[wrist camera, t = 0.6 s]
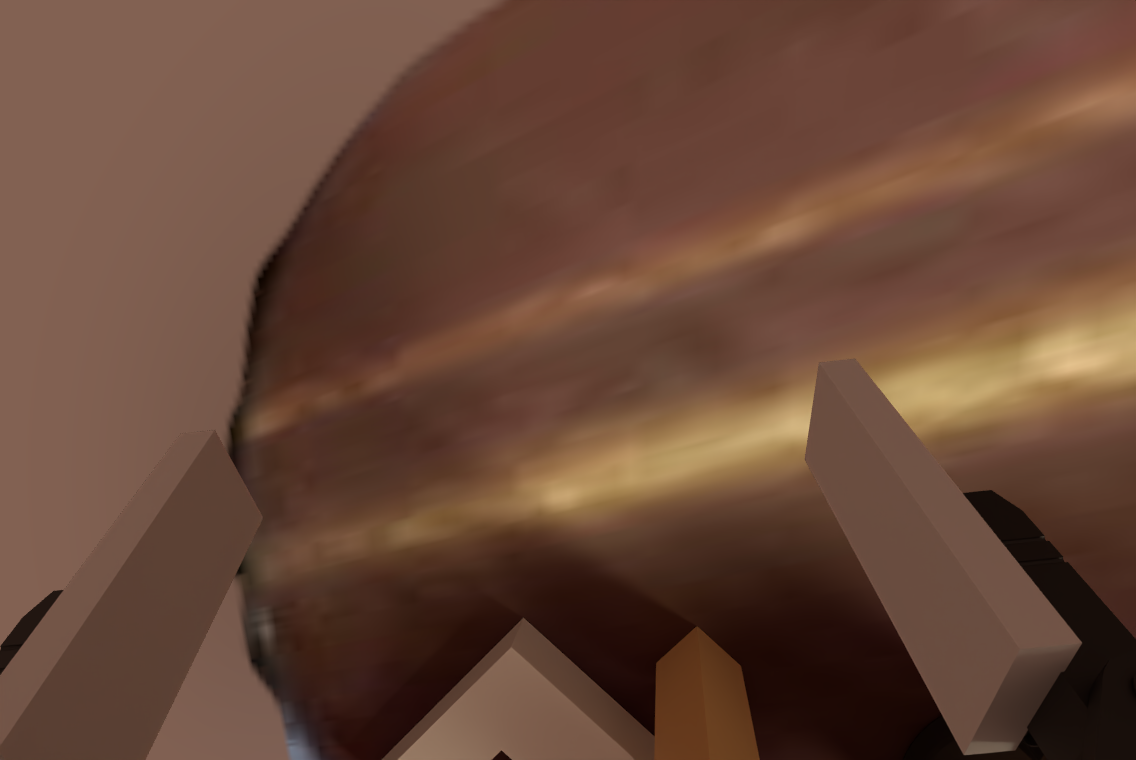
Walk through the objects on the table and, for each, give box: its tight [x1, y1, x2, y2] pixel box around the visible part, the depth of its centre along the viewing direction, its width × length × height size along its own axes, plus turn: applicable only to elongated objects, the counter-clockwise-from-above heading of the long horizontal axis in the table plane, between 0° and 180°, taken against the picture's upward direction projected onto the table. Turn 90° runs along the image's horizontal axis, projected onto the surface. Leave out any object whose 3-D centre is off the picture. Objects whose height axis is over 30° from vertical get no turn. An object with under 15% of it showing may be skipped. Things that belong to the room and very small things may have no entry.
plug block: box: [654, 626, 760, 760], centre depth 40 cm, size 4×4×15 cm
